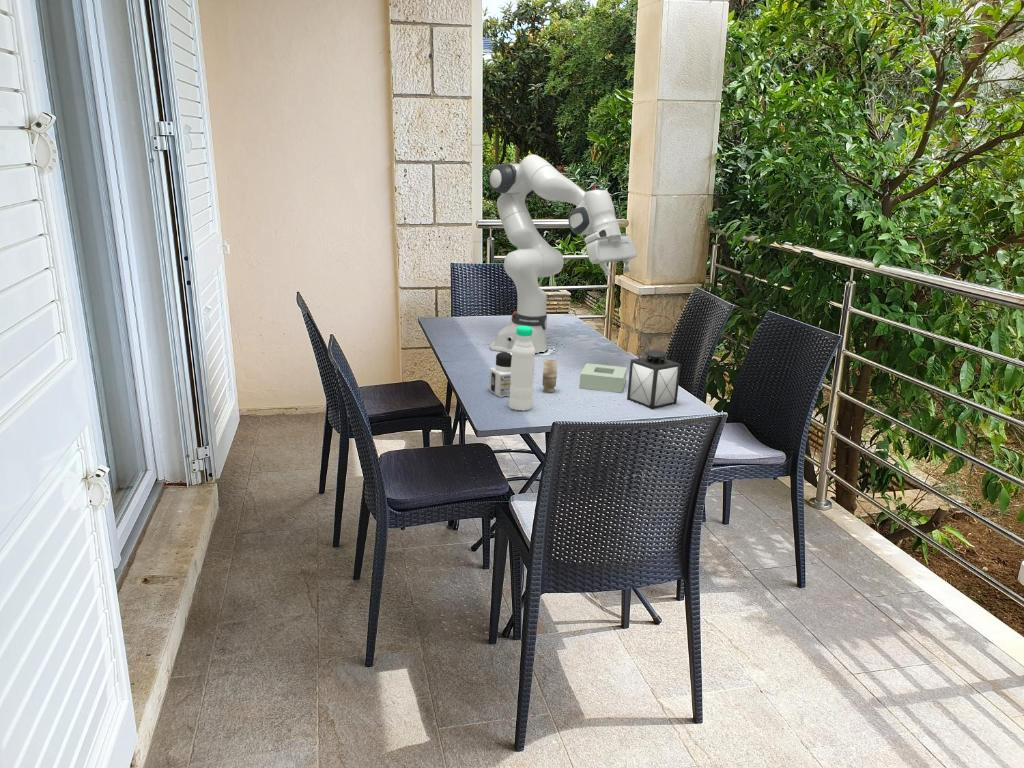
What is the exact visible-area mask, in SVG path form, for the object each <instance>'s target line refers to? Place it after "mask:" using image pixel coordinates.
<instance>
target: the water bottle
mask: <svg viewBox="0 0 1024 768" xmlns="http://www.w3.org/2000/svg"><path fill="white" fill-rule="evenodd" d="M532 333H533V330H532V328H531V327H529V326H519V327H517V330H516V334H517V336H518V339H517V340H516V342H515V345H514V346H513V348H512V359H511V375H510V379H511V385H510V396H509V400H508V406H509V409H511V410H513V409H515V410H514V411H516V410H527V411H529V410H528V409H530V410H532V408H533V395H534V386H533V385H534V379H535V355H536V354H535V349H534V346H533V343H532V341H531V336H532Z"/></svg>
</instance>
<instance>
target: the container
mask: <svg viewBox="0 0 1024 768" xmlns="http://www.w3.org/2000/svg"><path fill="white" fill-rule="evenodd" d="M511 359H512V353H510V352H503V351H500V352H499V353H497V354H496V355H495V366H494V367H490V368H489V381H488V382H489V385H488V391H489V392H491V394H493V395H495V396H497V397H498V396H499V397H498V398H504V397H503V396H507V397H510V385H511V379H510V375H511Z"/></svg>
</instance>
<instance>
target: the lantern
mask: <svg viewBox="0 0 1024 768" xmlns="http://www.w3.org/2000/svg"><path fill="white" fill-rule="evenodd" d="M654 317H664V318H666V319H668V320H669V321H670V322H671V323H672V325H673V328H674V329H673V330H674V332H676V327H675V324H674V322H673V321H672V320H671V319H670V318H669V317H667V316H665V315H662V314H661V315H659V314H657V315H652V316H650V317H648V318H647V319H646V320H645V321H644V323H643V325H642V327H641V331H640V335H642V333H643V329H644V326H645V324H646V322H647V321H648V320H649V319H651V318H654ZM639 338H640V339H639V349H641V343H642V342H641V341H642V336H640V337H639ZM673 342H674V344H673V350H675V347H676V341H673ZM644 354H645V355H646V356H644V357H641V354H638V355H639V357H638V358H634V359H630V365H629V372H628V373H629V375H628V385H627V394H626V395H627V396H626V400H627V401H629V400H630V402H632V401H633V403H635V404H637V403H638V405H640V406H642V405H643V406H642V407H645V408H648V409H650V410H656V409H659V408H664V407H668V406H672V404H673V405H674V404H675V405H677V403H678V402H677V401H678V392H679V383H680V374H681V367H682V366H681V365H682V363H679V362H676V361H675V360H674V359H675V352H673V353H672V355H673V357H672V360H670V359H667V358H666V357H668V356H669V355H668V354H667V353H666V352H665V351H663V350H658V349H650V350H649V349H648V351H646V352H645V353H644Z"/></svg>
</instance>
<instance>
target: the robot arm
mask: <svg viewBox="0 0 1024 768" xmlns="http://www.w3.org/2000/svg"><path fill="white" fill-rule="evenodd" d="M488 181H489V185H490V188H491V190H493V191H495V192H496V193H499V194H501V195H499V197H497V201H496V207H497V208H496V209H497V211H498V212H497V213H498V215H499V219H500V222H501V224H502V227H503V229H504V232H505V235H506V237H507V239H508V241H509V243H510V244H512V245H513V246H514V247H516V248H518V249H516V250H513V251H511V252H508V253H507V254H506V256H505V257H504V262H503V268H504V271H505V273H506V274H507V276H508V277H509V278H510V279H511V280H512V281H513V283H514V286H515V289H516V293H517V295H516V296H517V305H516V308H517V309H516V311H514V312H512V314H511V322H510V323H508V324H506V325H505V326H504V327H502V328H501V329H499V331H497V334H496V338H495V340H493V341H492V342H491V343H490V345H489V349H490V350H492V351H498V352H510V353H512V348H513V346H514V345H515V342H516V340H517V339H518V336H517V334H516V330H517V327H519V326H529V327H531V328H532V330H533V333H532V336H531V341H532V343H533V346H534V349H535V353H538V352H543V351H546V350H547V349H548V345H547V335H546V333H547V331H546V330H547V326H548V314H547V300H548V299H547V298H548V295H547V293H546V291H545V290H544V289H542V288H541V287H540V286H539V281H538V279H539V278H548V277H552V276H555V275H557V274H559V273H560V272H561V271H562V270H563V267H564V264H565V263H564V257H563V256H564V255H563V254H562V253H561V251H560V250H559V249H556V248H554V247H553V246H552V245H550V244H549V243H548V242H547V241H546V240H545V239H544V237H543V236H542V235H541V234H540V232H539V231H538V230H537V228H536V225H535V224H534V221H533V219H532V217H531V214H530V211H529V209H528V208H527V205H526V199H531V198H533V196H534V194H536V195H537V196H538V197H540V198H542V199H544V200H547V201H553V202H563V203H569V204H571V205H574V206H576V207H575V208H573V209H572V210H571V212H570V213H569V215H568V219H567V220H568V227H569V229H570V230H571V232H572V233H574V234H575V235H579V236H583V235H587V236H585V237H584V243H585V244H586V252H587V256H588V260H589V262H590V264H592V265H597V264H599V267H600V268H601V269H602V270H603V272H604V275H605V277H606V276H612V274H613V273H612V269H611V268H609V266H608V263H613V262H622V261H623V262H622V263H623V264H624V267H623V268H622V269H623V273H624V274H628V273H631V262H632V261H631V260H632V259H635V258H636V257H637V254H638V253H637V249H636V247H635V245H634V242H633V240H632V238H631V237H630V235H628V234H627V233H626V232H622V233H621V228H620V225H619V221H618V218H617V213H616V211H615V206H614V203H613V200H612V197H611V195H610V192H609V191H608V190H607V189H606V188H602V187H601V188H592V189H589V190H585V189H584V188H583V187H582V186H581V185H578V184H577V183H575V182H574V181H572V180H571V179H570V178H568V177H566V176H565V175H563V174H562V173H561V172H560V171H558V169H556V168H555V167H554V166H553V165H552V164H551V163H549V162H548V161H547V160H546V159H544V158H543V157H541V156H539V155H538V154H529V155H527V156H526V157H524V158H523V159H522V160H521V162H520V163H501V164H497V165H495V166H493V168H492V169H491V170H490V172H489V177H488ZM548 350H549V349H548ZM538 354H539V353H538Z"/></svg>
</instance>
